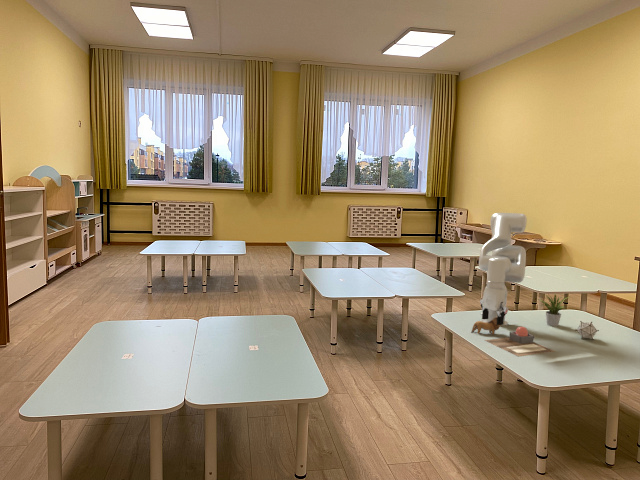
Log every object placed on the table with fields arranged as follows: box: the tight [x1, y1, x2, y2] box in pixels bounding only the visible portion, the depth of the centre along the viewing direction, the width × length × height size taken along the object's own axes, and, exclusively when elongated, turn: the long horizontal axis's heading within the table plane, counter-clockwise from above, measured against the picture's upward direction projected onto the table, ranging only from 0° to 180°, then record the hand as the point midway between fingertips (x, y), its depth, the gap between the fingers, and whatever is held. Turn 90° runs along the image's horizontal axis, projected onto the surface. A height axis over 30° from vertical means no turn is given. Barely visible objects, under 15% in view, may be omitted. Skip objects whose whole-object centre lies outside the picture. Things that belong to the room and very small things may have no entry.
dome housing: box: [508, 330, 535, 344], centre depth 211 cm, size 7×7×3 cm
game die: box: [574, 320, 600, 341], centre depth 219 cm, size 9×8×10 cm
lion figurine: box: [470, 317, 502, 335], centre depth 219 cm, size 15×5×9 cm, turn 96°
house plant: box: [539, 293, 570, 327], centre depth 239 cm, size 14×14×16 cm
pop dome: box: [515, 326, 529, 337], centre depth 210 cm, size 5×5×6 cm
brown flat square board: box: [484, 336, 556, 357], centre depth 204 cm, size 20×20×1 cm
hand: (492, 321), depth 218 cm, fingers open, 9 cm apart
